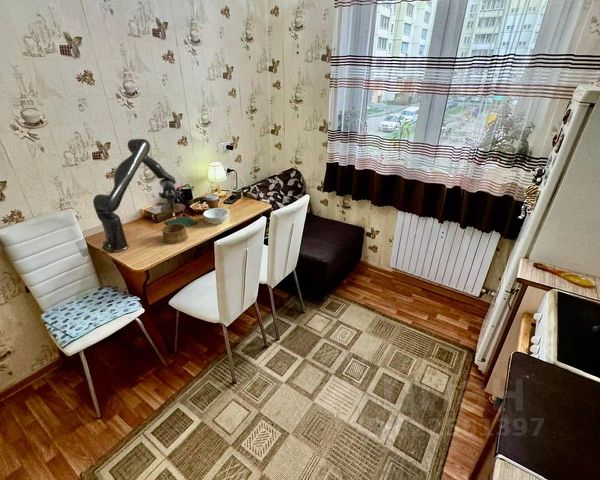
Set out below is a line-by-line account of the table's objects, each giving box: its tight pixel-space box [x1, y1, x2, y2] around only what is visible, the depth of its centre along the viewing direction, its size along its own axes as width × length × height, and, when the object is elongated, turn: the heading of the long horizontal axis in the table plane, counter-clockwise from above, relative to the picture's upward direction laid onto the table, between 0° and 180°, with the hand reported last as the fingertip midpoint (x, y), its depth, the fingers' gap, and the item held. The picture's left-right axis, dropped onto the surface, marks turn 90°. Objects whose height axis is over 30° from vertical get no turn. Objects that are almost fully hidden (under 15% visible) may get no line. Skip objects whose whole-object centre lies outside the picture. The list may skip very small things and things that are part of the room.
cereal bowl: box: [202, 207, 229, 225], centre depth 214 cm, size 17×17×7 cm
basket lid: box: [160, 193, 186, 214], centre depth 189 cm, size 15×15×10 cm
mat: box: [164, 215, 198, 228], centre depth 212 cm, size 16×16×1 cm
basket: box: [161, 223, 188, 245], centre depth 191 cm, size 14×14×8 cm
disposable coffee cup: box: [205, 193, 220, 209], centre depth 230 cm, size 10×10×12 cm
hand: (171, 198), depth 185 cm, fingers closed on basket lid, 2 cm apart
